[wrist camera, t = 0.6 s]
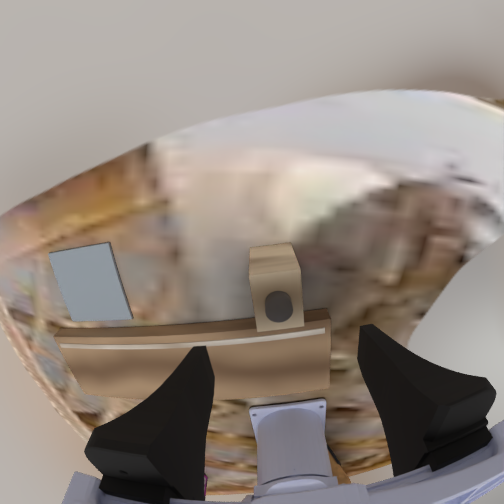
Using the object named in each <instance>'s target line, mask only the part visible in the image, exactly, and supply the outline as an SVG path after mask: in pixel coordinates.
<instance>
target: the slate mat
mask: <svg viewBox="0 0 504 504" xmlns="http://www.w3.org/2000/svg"><path fill="white" fill-rule="evenodd" d="M48 255H49V258H50V262H51V265H52V268H53V271H54V274H55V277H56V279H57V282H58V285H59V288H60V291H61V293H62V296H63V298H64V301H65V304H66V306H67V309H68V311H69V313H70V316H71V318H72V321H104V320H127V319H133V315H132V312H131V310H130V307H129V304H128V301H127V298H126V295H125V292H124V289H123V286H122V282H121V279H120V276H119V273H118V269H117V266H116V262H115V259H114V255H113V252H112V248H111V244H110V242H107V243H101V244H95V245H89V246H84V247H78V248H73V249H67V250H62V251H57V252H51V253H49V254H48Z"/></svg>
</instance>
